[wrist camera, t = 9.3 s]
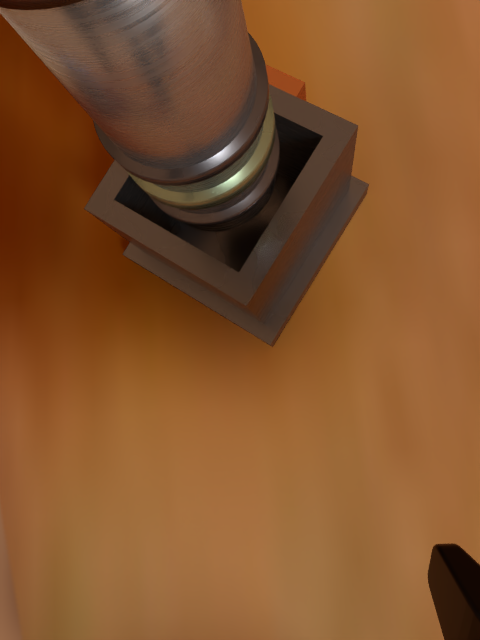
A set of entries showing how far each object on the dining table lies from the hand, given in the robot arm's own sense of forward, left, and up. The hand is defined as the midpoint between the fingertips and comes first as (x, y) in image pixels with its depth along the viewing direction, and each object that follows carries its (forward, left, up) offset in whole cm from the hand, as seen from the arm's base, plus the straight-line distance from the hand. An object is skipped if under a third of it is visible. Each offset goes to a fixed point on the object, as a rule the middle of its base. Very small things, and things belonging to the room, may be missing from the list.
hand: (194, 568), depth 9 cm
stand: (+6, -8, -11) cm, 15 cm away
